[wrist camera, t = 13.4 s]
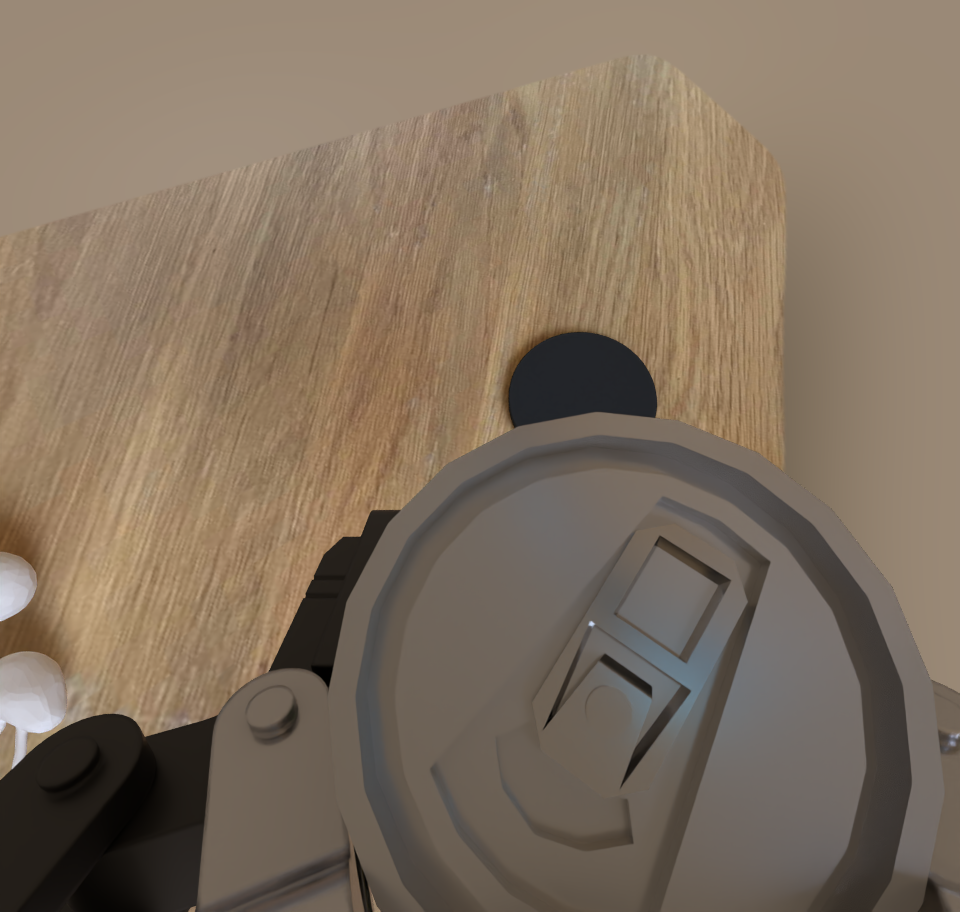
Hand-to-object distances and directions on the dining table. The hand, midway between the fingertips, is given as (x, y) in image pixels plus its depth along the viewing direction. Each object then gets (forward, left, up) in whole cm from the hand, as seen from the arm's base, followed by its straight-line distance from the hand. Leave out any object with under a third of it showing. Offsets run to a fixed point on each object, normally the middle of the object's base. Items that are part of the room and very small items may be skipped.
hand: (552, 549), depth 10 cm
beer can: (0, +2, -7) cm, 7 cm away
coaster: (-4, -11, -20) cm, 23 cm away
